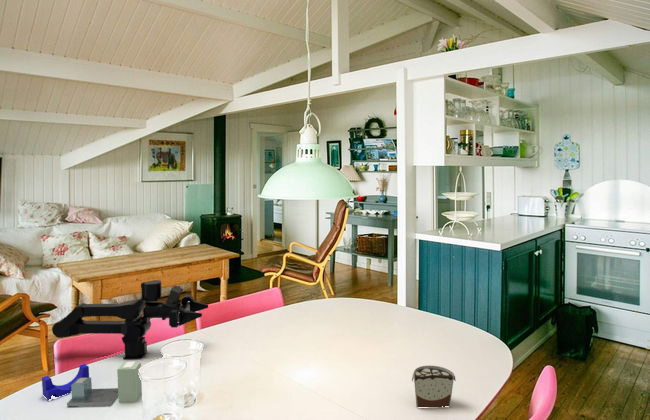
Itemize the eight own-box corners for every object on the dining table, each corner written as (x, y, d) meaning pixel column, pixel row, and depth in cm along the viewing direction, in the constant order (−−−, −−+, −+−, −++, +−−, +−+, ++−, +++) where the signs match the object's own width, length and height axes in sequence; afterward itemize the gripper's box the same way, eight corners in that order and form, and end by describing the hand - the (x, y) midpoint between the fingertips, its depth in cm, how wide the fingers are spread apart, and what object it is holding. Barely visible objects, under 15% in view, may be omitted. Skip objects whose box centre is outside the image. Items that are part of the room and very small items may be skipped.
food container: (448, 396, 131) (449, 364, 130) (455, 407, 125) (456, 373, 124) (407, 397, 130) (407, 364, 130) (411, 408, 124) (412, 374, 123)
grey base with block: (67, 407, 125) (66, 387, 124) (81, 393, 132) (80, 374, 132) (110, 405, 125) (109, 386, 125) (121, 391, 133) (121, 373, 133)
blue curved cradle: (48, 402, 128) (47, 382, 127) (42, 397, 131) (41, 377, 130) (91, 386, 137) (90, 367, 136) (85, 381, 140) (84, 363, 139)
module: (118, 402, 127) (117, 368, 126) (124, 394, 132) (123, 361, 131) (136, 402, 127) (135, 367, 126) (141, 394, 132) (140, 361, 131)
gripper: (151, 295, 148) (198, 296, 148) (169, 281, 167) (211, 281, 167) (152, 327, 149) (198, 328, 150) (169, 309, 168) (211, 310, 168)
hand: (205, 310), depth 159 cm, fingers open, 9 cm apart
